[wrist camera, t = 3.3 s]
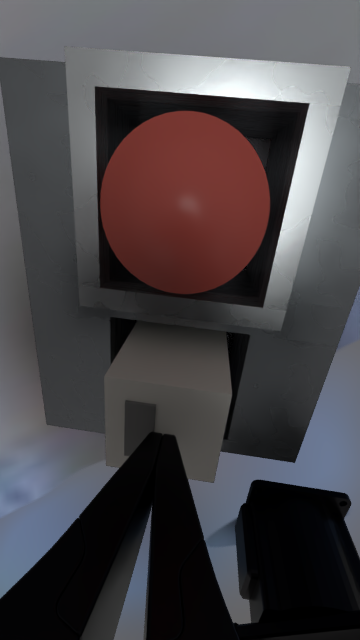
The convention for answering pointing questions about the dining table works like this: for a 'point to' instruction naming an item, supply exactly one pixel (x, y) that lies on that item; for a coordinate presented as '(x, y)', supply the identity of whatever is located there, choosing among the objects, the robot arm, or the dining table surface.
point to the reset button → (185, 202)
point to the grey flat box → (205, 307)
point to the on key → (169, 394)
